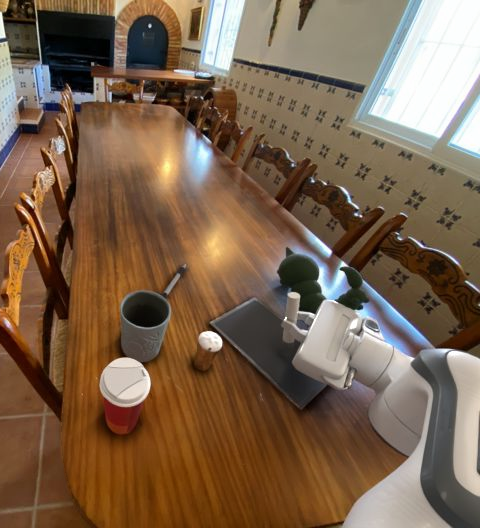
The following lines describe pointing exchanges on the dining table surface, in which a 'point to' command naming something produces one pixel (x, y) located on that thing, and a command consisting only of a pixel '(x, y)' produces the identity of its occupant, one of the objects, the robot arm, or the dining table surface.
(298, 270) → the toy figurine
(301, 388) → the tablet
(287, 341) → the white cylindrical rod
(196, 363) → the milkshake
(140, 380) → the paper cup
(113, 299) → the dining table surface
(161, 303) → the grey embossed cup
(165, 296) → the pen
